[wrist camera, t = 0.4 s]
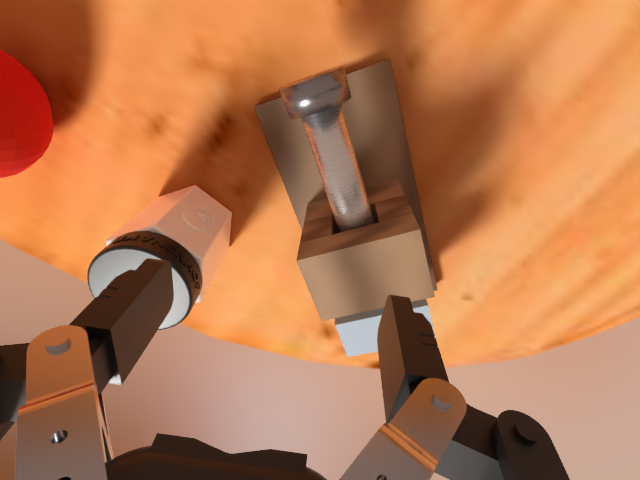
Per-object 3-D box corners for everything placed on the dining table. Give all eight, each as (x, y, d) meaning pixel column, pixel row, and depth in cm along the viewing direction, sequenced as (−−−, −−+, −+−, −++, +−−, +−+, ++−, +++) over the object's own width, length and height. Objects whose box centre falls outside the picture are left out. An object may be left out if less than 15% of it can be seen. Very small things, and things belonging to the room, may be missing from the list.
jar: (251, 223, 38) (217, 292, 27) (209, 270, 41) (164, 348, 30) (177, 168, 35) (109, 221, 24) (139, 222, 38) (64, 290, 28)
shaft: (283, 85, 26) (274, 92, 22) (343, 64, 26) (344, 67, 22) (364, 321, 37) (367, 355, 33) (408, 312, 36) (416, 345, 32)
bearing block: (388, 59, 29) (414, 66, 19) (435, 284, 40) (467, 364, 30) (256, 105, 32) (218, 133, 22) (334, 307, 42) (332, 388, 32)
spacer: (410, 254, 36) (428, 305, 29) (417, 285, 38) (435, 339, 31) (335, 272, 38) (335, 325, 31) (345, 301, 39) (347, 357, 32)
